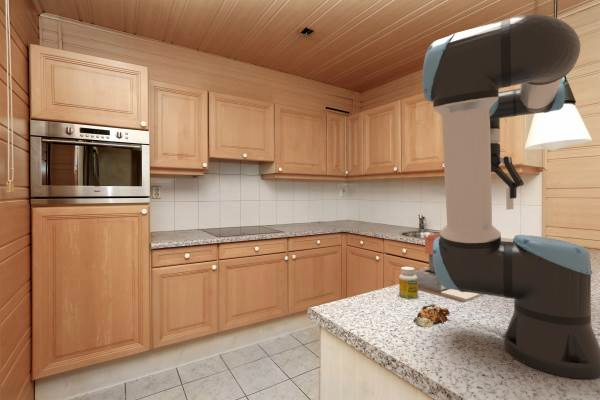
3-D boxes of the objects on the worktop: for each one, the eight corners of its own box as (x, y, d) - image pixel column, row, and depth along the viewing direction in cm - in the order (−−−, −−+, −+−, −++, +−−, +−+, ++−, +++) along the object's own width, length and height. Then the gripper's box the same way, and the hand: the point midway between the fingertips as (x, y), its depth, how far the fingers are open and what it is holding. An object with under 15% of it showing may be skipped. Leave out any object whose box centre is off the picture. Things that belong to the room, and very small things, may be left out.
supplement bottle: (408, 295, 98) (407, 265, 97) (421, 300, 93) (421, 268, 93) (395, 297, 95) (395, 267, 95) (408, 303, 90) (408, 271, 90)
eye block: (441, 292, 96) (441, 277, 96) (413, 285, 104) (413, 270, 104) (458, 286, 102) (458, 272, 101) (430, 280, 110) (430, 266, 110)
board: (463, 306, 87) (463, 302, 87) (406, 289, 103) (406, 286, 103) (490, 294, 96) (489, 291, 96) (434, 281, 112) (434, 278, 112)
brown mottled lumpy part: (409, 324, 77) (408, 311, 77) (426, 310, 86) (426, 298, 85) (437, 332, 72) (437, 318, 72) (452, 317, 81) (452, 304, 81)
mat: (466, 301, 88) (466, 299, 88) (440, 293, 95) (440, 292, 95) (483, 294, 94) (483, 292, 94) (458, 287, 101) (458, 286, 101)
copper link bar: (432, 291, 98) (431, 235, 98) (419, 287, 102) (419, 234, 101) (451, 284, 104) (450, 232, 104) (438, 281, 108) (438, 231, 108)
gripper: (536, 138, 91) (536, 209, 92) (456, 150, 113) (457, 207, 113) (524, 136, 88) (525, 210, 88) (444, 148, 109) (445, 208, 109)
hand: (487, 208), depth 100 cm, fingers open, 13 cm apart
